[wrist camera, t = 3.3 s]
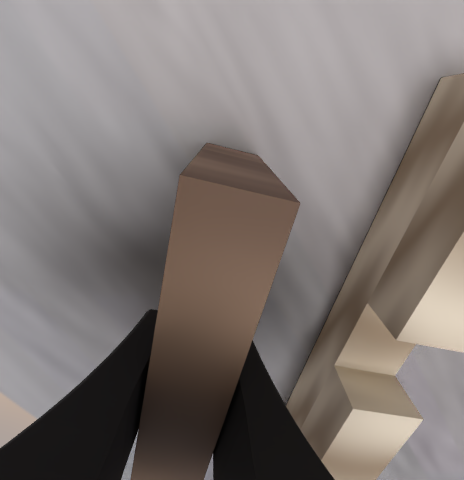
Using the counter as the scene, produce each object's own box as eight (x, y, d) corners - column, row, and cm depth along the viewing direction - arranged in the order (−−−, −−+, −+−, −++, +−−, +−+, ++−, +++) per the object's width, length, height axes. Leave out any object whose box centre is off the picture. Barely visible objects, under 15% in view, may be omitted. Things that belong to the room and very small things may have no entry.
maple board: (317, 438, 18) (341, 522, 14) (273, 432, 17) (285, 516, 14) (514, 100, 10) (685, 89, 6) (441, 77, 9) (576, 51, 6)
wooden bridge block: (199, 374, 15) (182, 540, 9) (163, 369, 15) (121, 535, 9) (258, 155, 10) (300, 202, 4) (206, 142, 10) (180, 174, 4)
